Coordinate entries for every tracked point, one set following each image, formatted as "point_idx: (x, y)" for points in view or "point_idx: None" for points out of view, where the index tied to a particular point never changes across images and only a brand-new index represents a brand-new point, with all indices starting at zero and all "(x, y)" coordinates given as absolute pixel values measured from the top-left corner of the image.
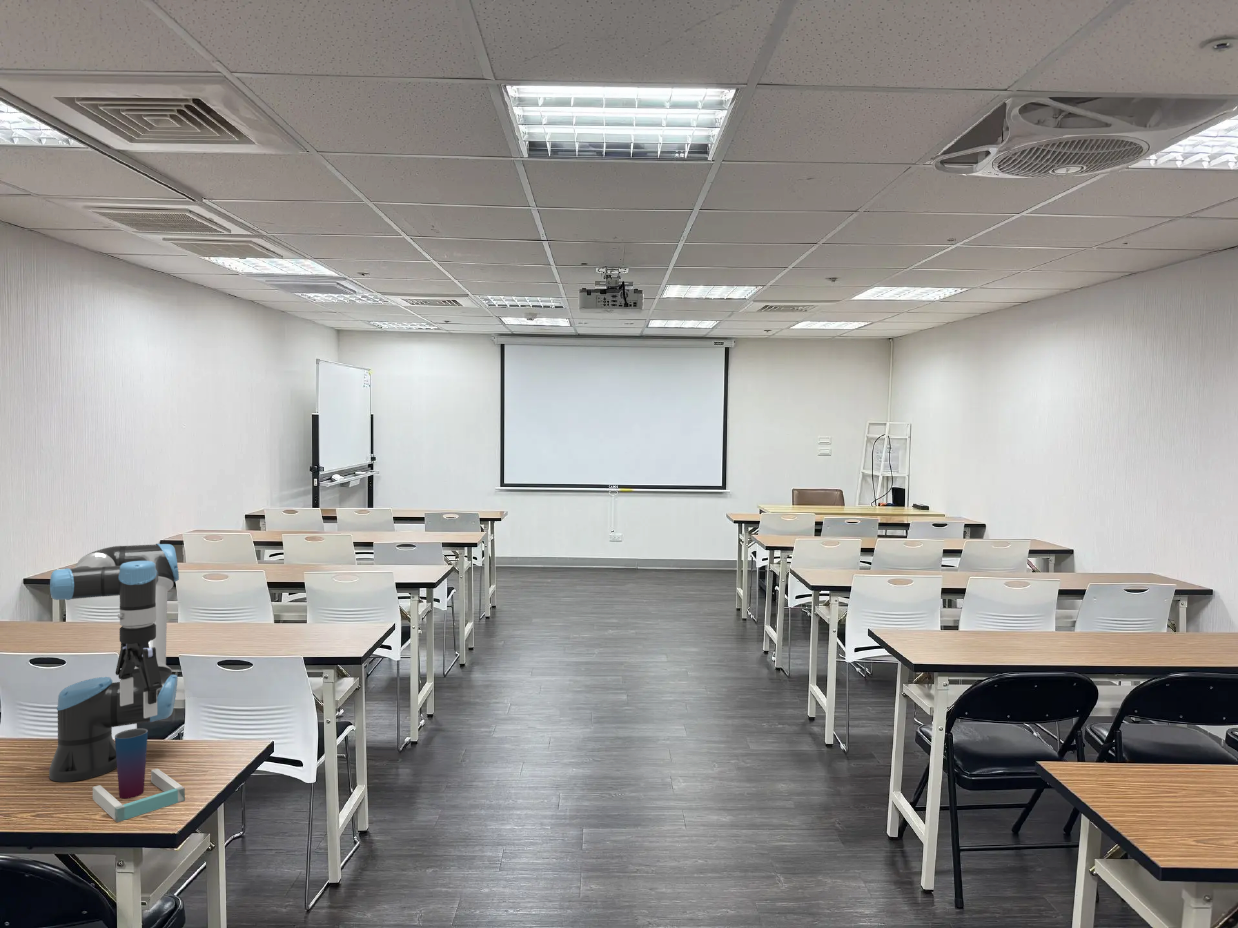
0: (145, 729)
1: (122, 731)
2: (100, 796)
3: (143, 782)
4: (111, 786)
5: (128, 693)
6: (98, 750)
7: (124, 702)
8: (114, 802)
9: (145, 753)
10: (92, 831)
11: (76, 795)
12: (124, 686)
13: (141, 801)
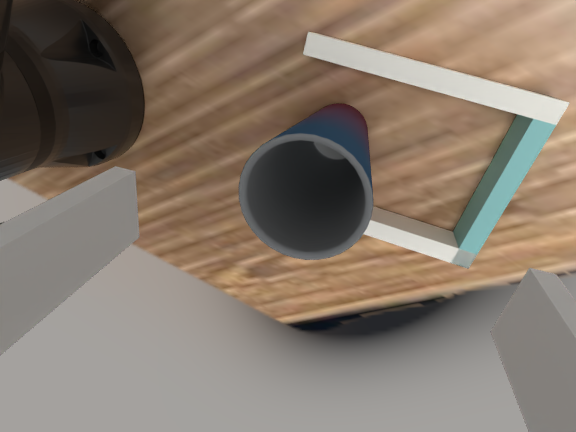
0: (311, 138)
1: (241, 200)
2: None
3: (362, 121)
4: (239, 123)
5: (80, 237)
6: (82, 98)
7: (126, 230)
8: (421, 245)
9: (361, 139)
10: (445, 291)
11: (221, 189)
12: (27, 308)
13: (497, 219)
